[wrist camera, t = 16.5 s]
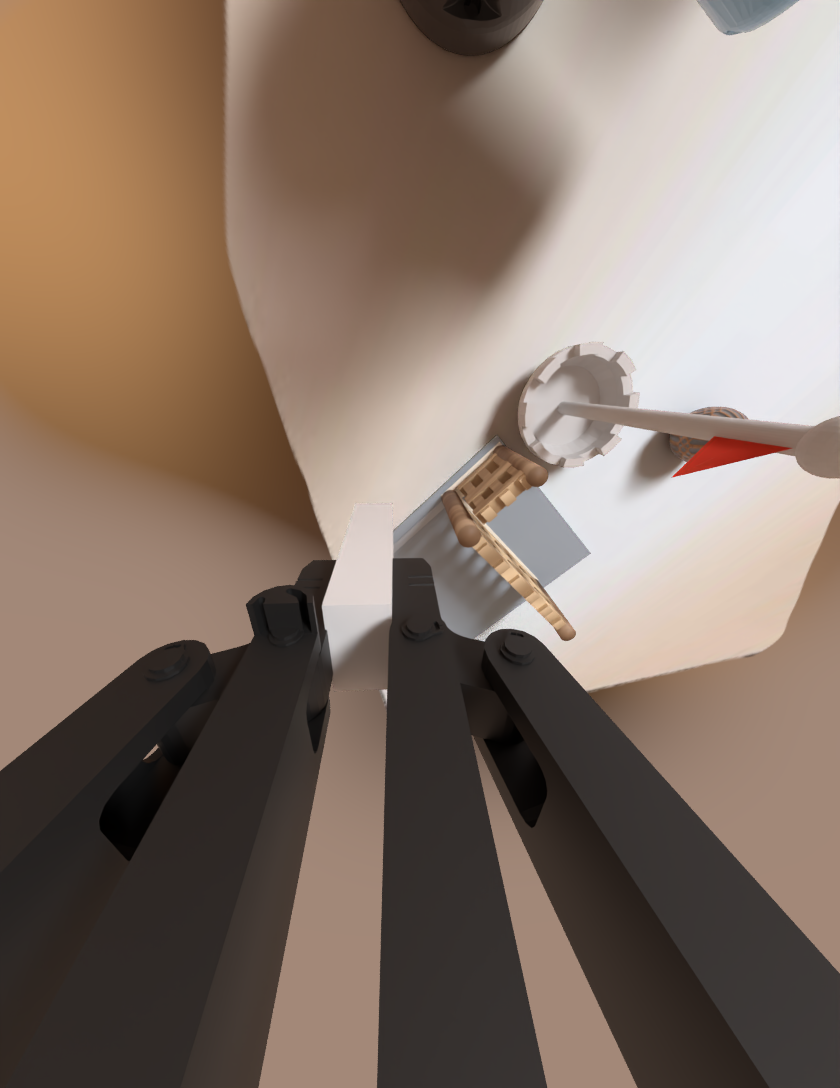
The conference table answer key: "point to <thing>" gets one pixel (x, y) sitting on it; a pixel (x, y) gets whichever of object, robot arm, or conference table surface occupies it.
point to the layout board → (463, 574)
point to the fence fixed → (490, 491)
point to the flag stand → (647, 419)
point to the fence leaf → (521, 580)
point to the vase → (690, 446)
